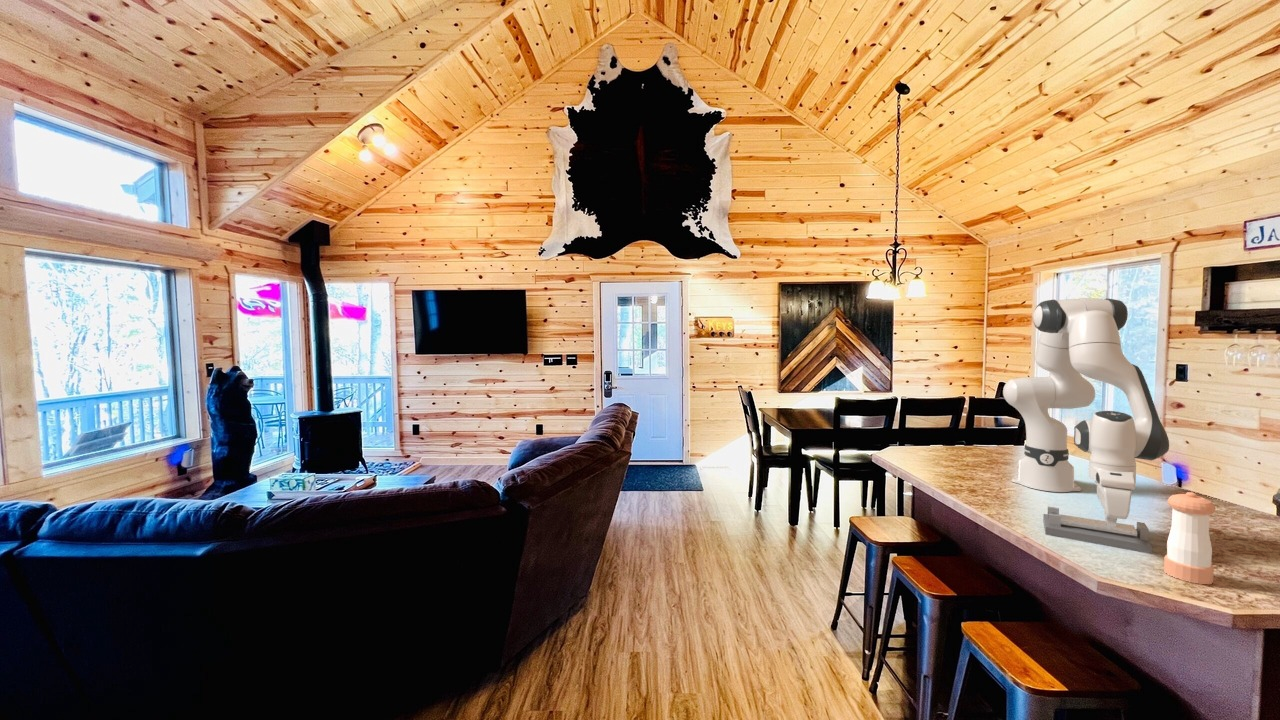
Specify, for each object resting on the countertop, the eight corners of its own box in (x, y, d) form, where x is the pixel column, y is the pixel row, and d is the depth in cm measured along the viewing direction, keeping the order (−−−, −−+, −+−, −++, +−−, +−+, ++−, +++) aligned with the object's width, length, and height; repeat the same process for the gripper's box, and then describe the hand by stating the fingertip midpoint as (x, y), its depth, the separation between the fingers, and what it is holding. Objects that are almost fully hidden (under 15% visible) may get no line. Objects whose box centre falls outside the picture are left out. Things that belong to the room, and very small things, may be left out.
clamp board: (1043, 520, 140) (1043, 503, 140) (1140, 537, 128) (1141, 518, 128) (1045, 534, 131) (1045, 516, 131) (1151, 553, 119) (1151, 533, 118)
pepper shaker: (1162, 565, 113) (1165, 485, 112) (1210, 575, 108) (1213, 492, 107) (1165, 577, 107) (1168, 493, 106) (1215, 588, 102) (1219, 500, 101)
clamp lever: (1049, 518, 137) (1049, 511, 137) (1133, 530, 126) (1133, 524, 126) (1050, 523, 133) (1050, 517, 133) (1137, 537, 122) (1137, 530, 122)
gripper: (1090, 463, 136) (1089, 511, 137) (1101, 480, 120) (1099, 534, 121) (1121, 467, 133) (1120, 516, 133) (1136, 484, 116) (1135, 540, 117)
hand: (1110, 525), depth 127 cm, fingers closed, pressing on clamp lever
